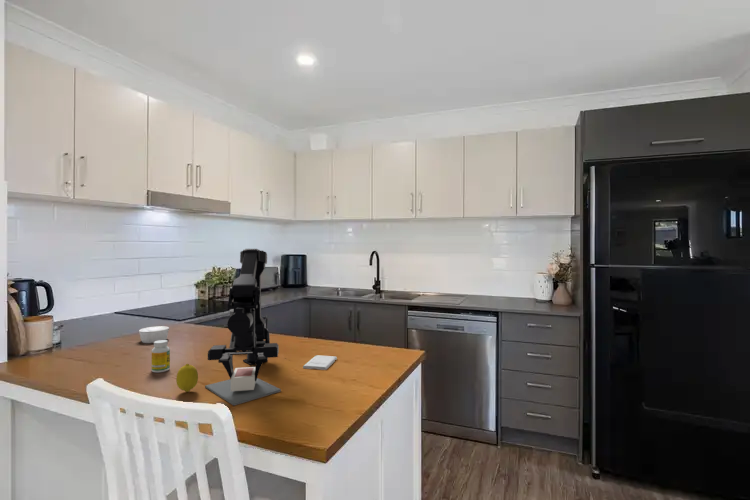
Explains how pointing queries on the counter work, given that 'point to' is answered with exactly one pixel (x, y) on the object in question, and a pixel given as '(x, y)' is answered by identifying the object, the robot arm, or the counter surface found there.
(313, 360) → the external hard drive
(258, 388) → the mat
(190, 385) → the lemon
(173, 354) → the counter surface
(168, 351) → the supplement bottle
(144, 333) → the ramekin
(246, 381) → the card box
